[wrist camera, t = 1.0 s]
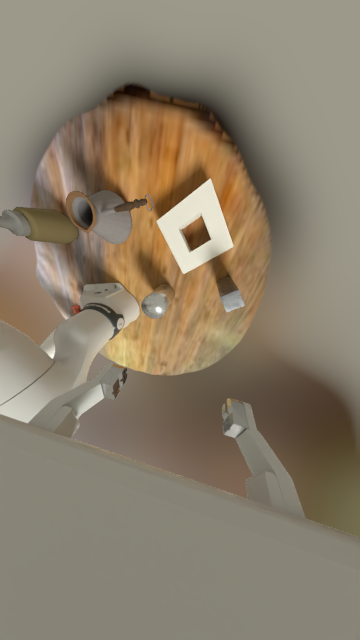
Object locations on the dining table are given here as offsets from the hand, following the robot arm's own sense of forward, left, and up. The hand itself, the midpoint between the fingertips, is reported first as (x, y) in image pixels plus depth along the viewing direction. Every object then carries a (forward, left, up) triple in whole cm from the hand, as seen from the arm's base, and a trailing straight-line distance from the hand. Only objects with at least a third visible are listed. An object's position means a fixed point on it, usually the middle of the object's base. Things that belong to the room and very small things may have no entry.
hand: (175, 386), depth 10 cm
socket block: (-3, +11, -37) cm, 39 cm away
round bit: (-11, -7, -37) cm, 39 cm away
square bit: (+8, -1, -37) cm, 38 cm away
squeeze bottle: (-42, +9, -37) cm, 57 cm away
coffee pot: (-21, +13, -37) cm, 44 cm away
